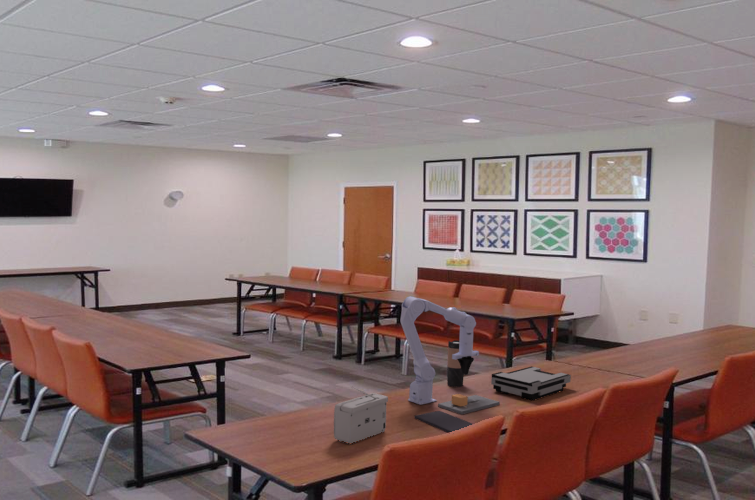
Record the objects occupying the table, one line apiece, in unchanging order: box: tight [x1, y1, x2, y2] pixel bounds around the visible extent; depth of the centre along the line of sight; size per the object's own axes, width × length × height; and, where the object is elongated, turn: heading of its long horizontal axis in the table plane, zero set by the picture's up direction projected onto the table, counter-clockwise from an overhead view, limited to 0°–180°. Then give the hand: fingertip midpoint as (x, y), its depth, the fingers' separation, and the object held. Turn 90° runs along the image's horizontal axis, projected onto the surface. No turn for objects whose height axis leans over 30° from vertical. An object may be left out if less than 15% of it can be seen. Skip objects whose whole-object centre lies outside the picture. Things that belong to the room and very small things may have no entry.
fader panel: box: [437, 394, 500, 415], centre depth 279 cm, size 23×13×1 cm, turn 130°
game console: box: [490, 366, 572, 401], centre depth 305 cm, size 21×32×8 cm, turn 135°
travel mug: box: [446, 339, 465, 388], centre depth 310 cm, size 8×8×20 cm
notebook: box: [414, 410, 473, 433], centre depth 255 cm, size 13×2×21 cm
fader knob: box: [451, 393, 469, 407], centre depth 275 cm, size 4×5×3 cm
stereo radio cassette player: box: [333, 386, 389, 444], centre depth 237 cm, size 21×8×20 cm, turn 141°
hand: (465, 374), depth 289 cm, fingers closed
